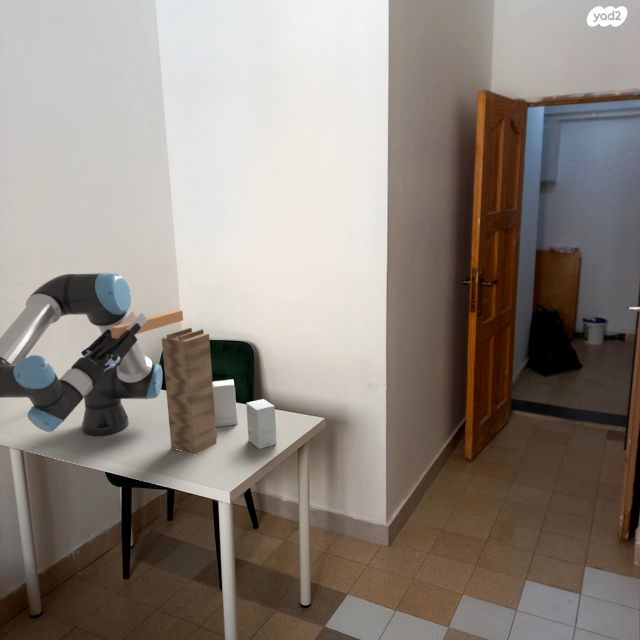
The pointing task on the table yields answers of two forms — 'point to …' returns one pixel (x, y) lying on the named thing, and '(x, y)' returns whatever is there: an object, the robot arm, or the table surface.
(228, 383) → the skincare box
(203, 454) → the table surface
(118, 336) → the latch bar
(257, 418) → the small box
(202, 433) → the post
